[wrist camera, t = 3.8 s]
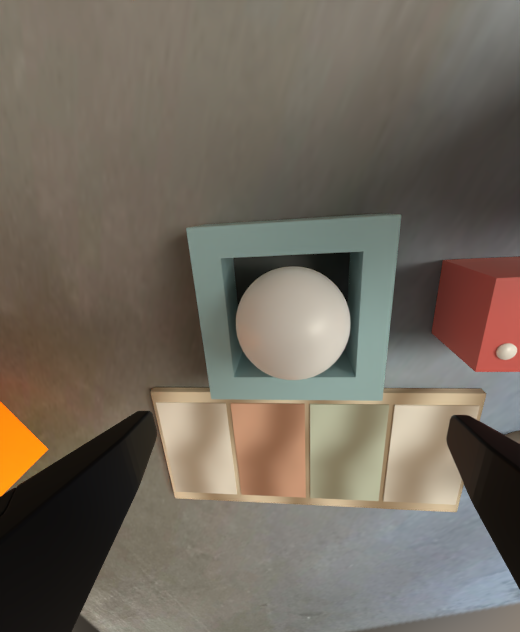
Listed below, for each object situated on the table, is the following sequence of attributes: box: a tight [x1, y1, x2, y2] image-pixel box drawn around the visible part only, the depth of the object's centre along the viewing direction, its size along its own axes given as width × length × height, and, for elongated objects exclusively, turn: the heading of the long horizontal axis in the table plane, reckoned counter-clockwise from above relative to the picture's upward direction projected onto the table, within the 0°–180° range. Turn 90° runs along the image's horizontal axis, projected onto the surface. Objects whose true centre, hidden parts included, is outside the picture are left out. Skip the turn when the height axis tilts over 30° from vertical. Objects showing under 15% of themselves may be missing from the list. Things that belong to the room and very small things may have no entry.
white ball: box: [236, 266, 350, 380], centre depth 16 cm, size 6×6×6 cm
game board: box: [151, 387, 486, 512], centre depth 24 cm, size 25×12×1 cm, turn 94°
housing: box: [186, 213, 401, 401], centre depth 18 cm, size 11×11×4 cm
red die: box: [432, 256, 520, 372], centre depth 16 cm, size 5×5×5 cm
